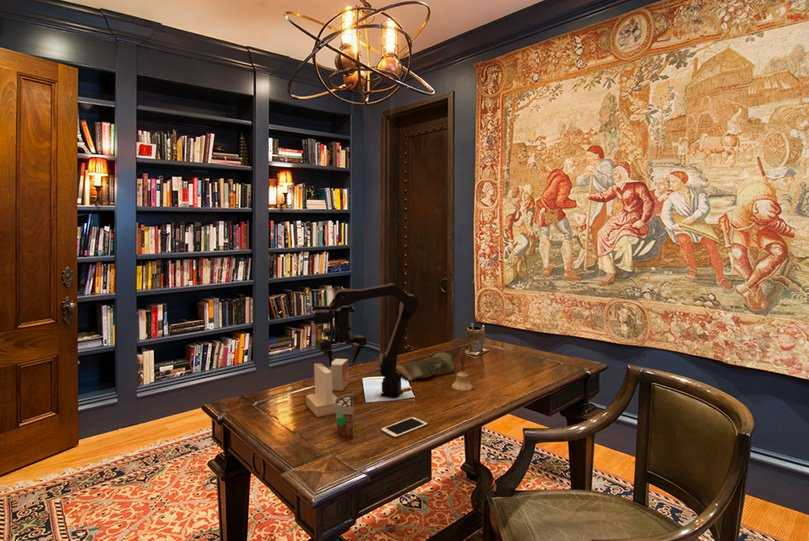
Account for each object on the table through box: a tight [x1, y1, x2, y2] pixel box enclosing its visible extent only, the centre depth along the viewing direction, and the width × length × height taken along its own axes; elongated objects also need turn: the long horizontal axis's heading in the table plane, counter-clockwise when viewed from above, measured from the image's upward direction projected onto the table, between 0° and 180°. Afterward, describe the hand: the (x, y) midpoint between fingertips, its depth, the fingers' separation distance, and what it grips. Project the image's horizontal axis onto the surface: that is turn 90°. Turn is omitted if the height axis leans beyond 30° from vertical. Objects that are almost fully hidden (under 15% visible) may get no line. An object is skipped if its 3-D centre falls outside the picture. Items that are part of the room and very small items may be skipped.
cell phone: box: [379, 416, 429, 439], centre depth 147 cm, size 8×15×1 cm, turn 131°
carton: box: [305, 396, 336, 418], centre depth 163 cm, size 10×12×3 cm
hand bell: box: [451, 347, 474, 392], centre depth 182 cm, size 8×8×16 cm
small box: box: [328, 358, 349, 392], centre depth 183 cm, size 8×6×10 cm
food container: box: [333, 393, 355, 439], centre depth 144 cm, size 12×6×10 cm, turn 5°
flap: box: [305, 362, 338, 408], centre depth 162 cm, size 9×12×12 cm
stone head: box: [396, 351, 455, 382], centre depth 202 cm, size 19×8×28 cm
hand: (341, 365), depth 171 cm, fingers open, 9 cm apart
